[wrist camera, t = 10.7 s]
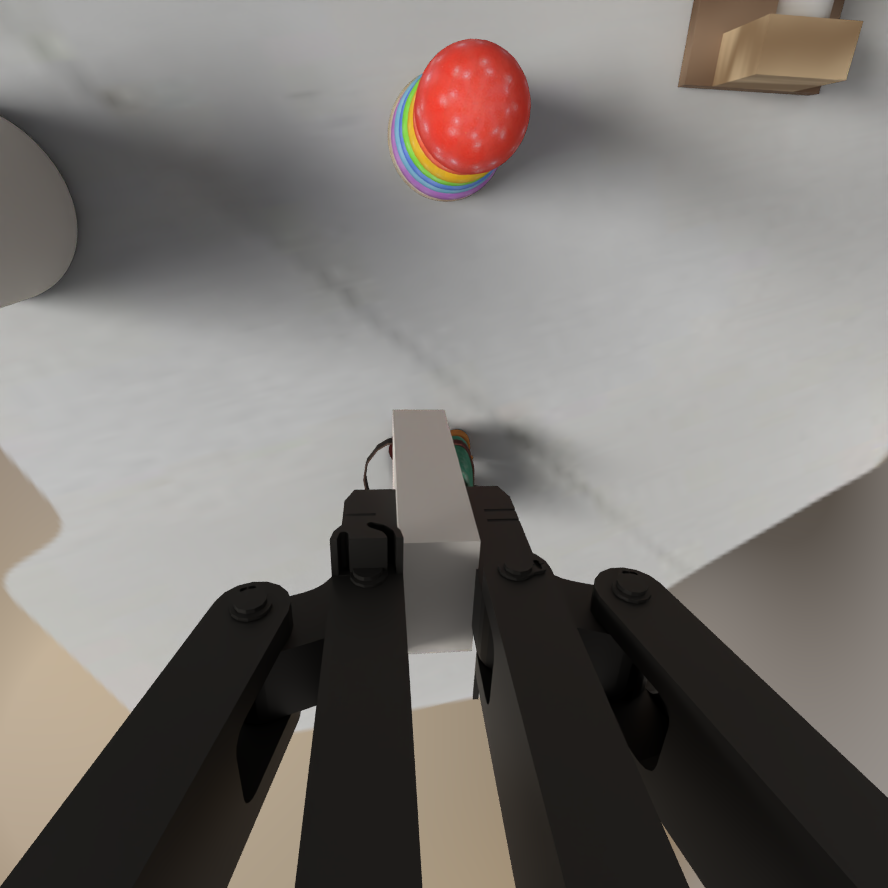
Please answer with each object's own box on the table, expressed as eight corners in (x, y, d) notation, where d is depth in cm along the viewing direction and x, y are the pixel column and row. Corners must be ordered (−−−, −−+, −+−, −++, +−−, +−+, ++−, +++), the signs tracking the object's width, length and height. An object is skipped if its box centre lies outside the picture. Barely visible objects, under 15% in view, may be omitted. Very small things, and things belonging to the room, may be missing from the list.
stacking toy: (488, 58, 37) (577, -42, 20) (508, 187, 41) (597, 191, 24) (374, 86, 37) (368, 9, 20) (403, 212, 41) (418, 234, 24)
